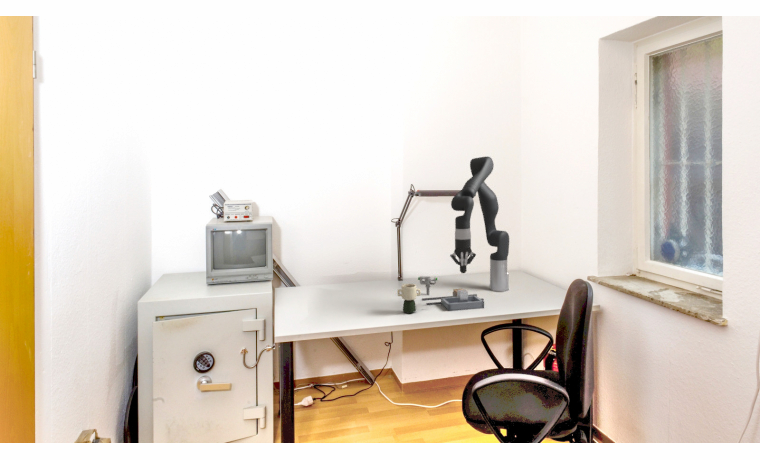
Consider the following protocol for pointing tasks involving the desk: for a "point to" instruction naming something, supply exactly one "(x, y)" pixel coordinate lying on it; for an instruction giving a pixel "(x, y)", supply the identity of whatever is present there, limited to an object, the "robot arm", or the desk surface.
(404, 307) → the character mug
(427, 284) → the mechanical component
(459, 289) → the slider
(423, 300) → the slide rails
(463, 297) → the stop block
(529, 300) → the desk surface
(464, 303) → the tray
